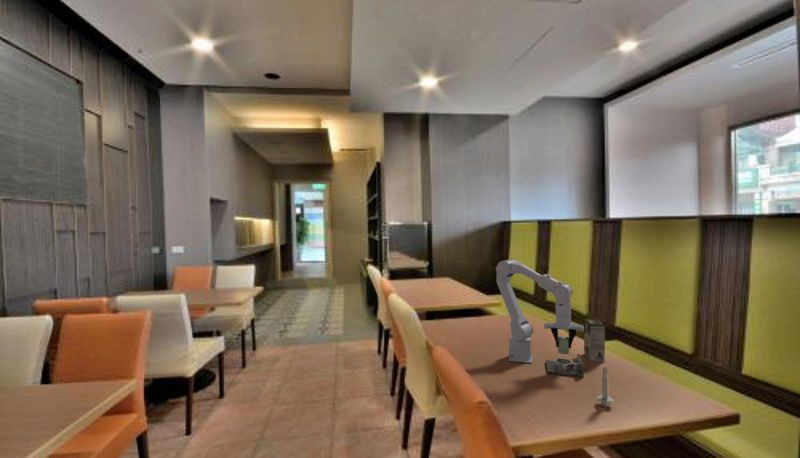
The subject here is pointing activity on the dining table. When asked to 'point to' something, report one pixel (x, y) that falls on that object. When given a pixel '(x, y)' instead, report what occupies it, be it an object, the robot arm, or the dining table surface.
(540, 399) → the dining table surface
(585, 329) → the coffee box
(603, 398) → the screw
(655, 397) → the dining table surface
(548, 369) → the cup bracket
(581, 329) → the robot arm
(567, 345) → the grey-green rounded cylinder
